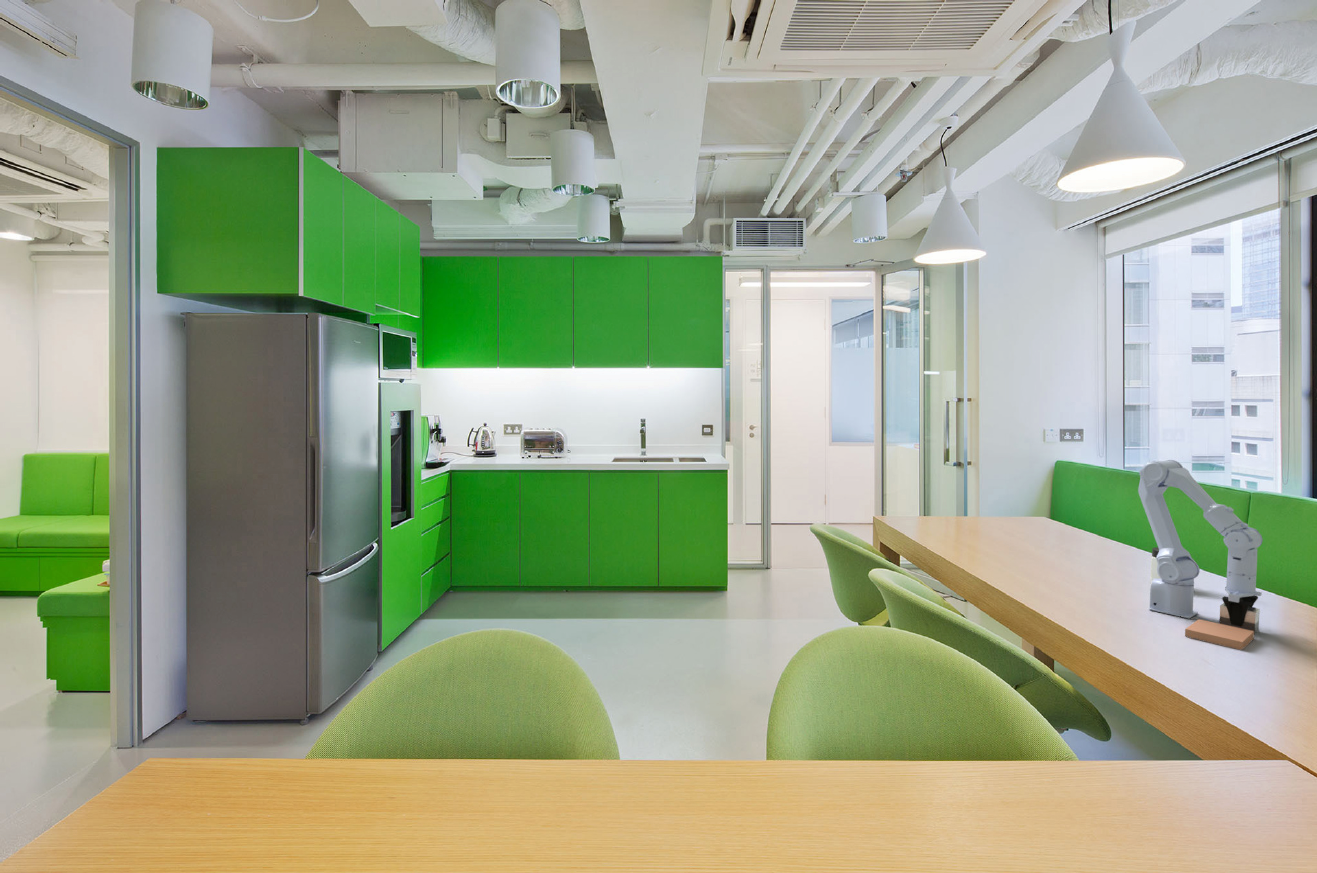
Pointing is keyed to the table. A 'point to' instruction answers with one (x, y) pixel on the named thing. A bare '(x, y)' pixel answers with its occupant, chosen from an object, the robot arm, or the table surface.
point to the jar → (1154, 564)
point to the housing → (1249, 622)
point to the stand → (1220, 634)
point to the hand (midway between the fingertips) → (1239, 623)
